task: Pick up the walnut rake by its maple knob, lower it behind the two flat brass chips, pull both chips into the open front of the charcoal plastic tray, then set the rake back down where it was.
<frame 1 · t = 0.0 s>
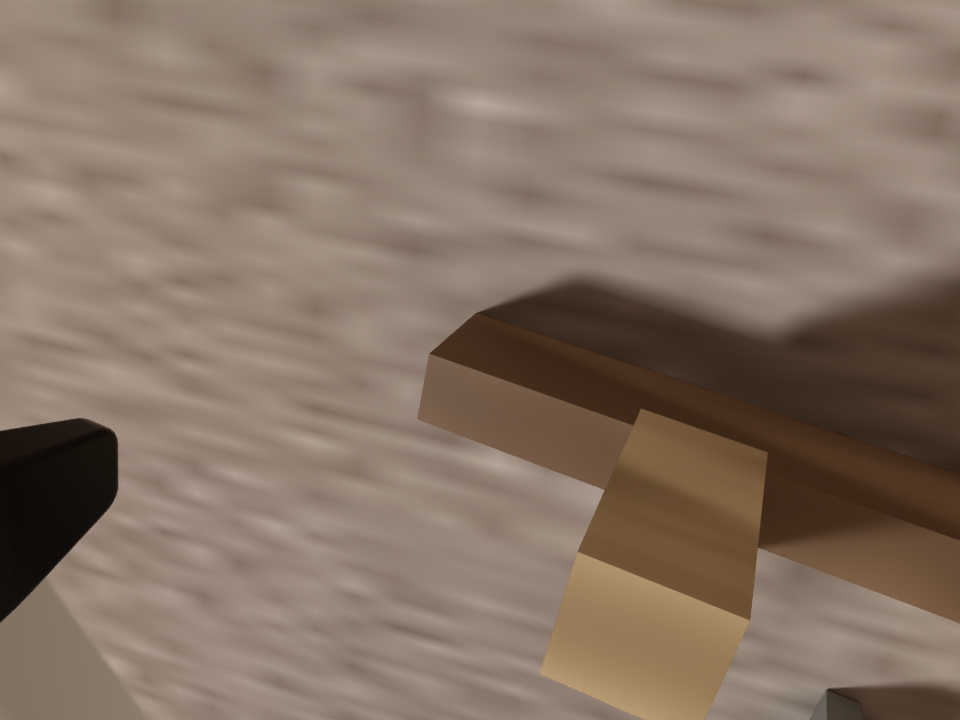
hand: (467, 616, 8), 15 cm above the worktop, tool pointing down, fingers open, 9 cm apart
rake: (701, 420, 22), on the worktop
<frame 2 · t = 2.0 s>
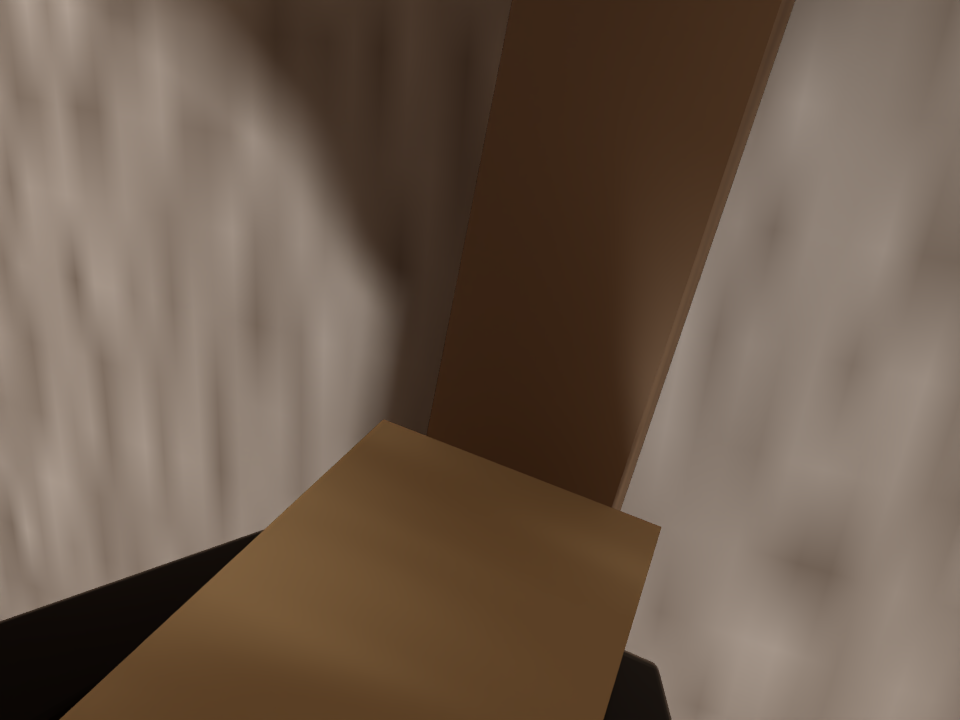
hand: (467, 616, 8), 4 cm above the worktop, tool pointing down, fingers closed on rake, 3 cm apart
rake: (570, 438, 12), on the worktop, touching gripper
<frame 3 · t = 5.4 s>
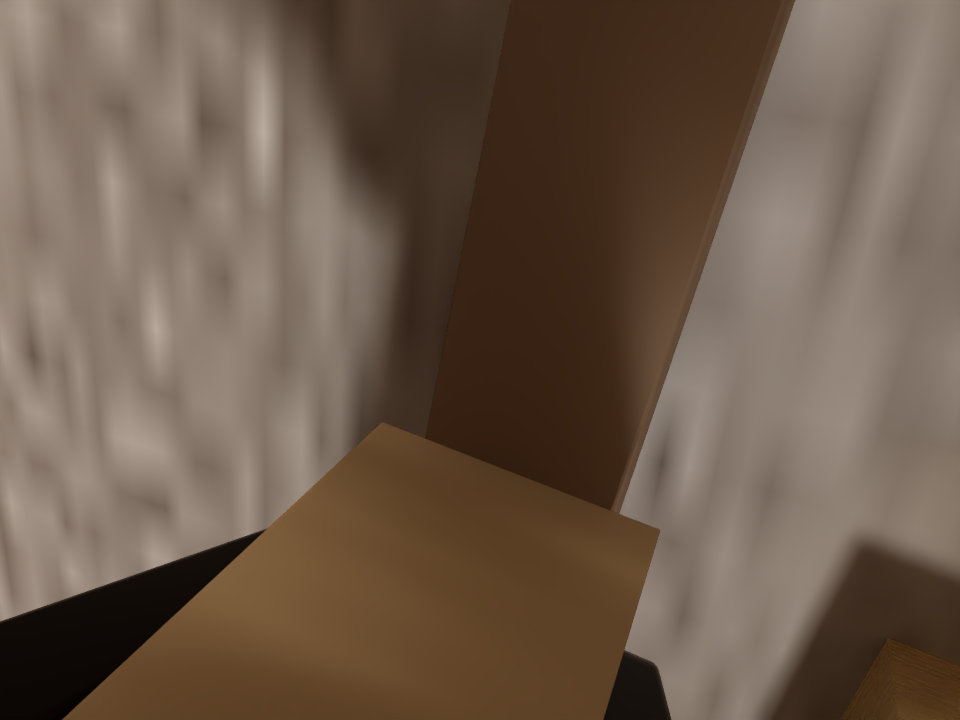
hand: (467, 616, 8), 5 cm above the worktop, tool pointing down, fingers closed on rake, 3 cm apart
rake: (569, 440, 12), point 1 cm above the worktop, touching gripper
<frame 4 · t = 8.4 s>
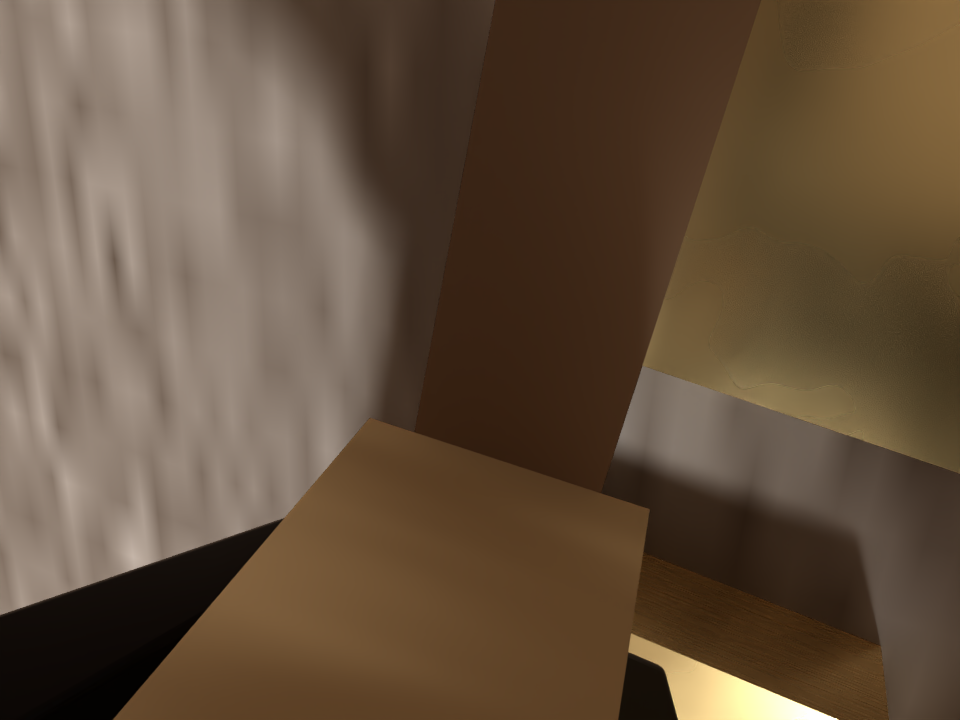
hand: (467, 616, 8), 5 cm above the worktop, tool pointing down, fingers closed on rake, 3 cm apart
chip b: (685, 679, 14), on the worktop
chip a: (898, 201, 10), on the worktop, touching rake
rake: (541, 425, 12), on the worktop, tilted 5°, touching chip a, gripper
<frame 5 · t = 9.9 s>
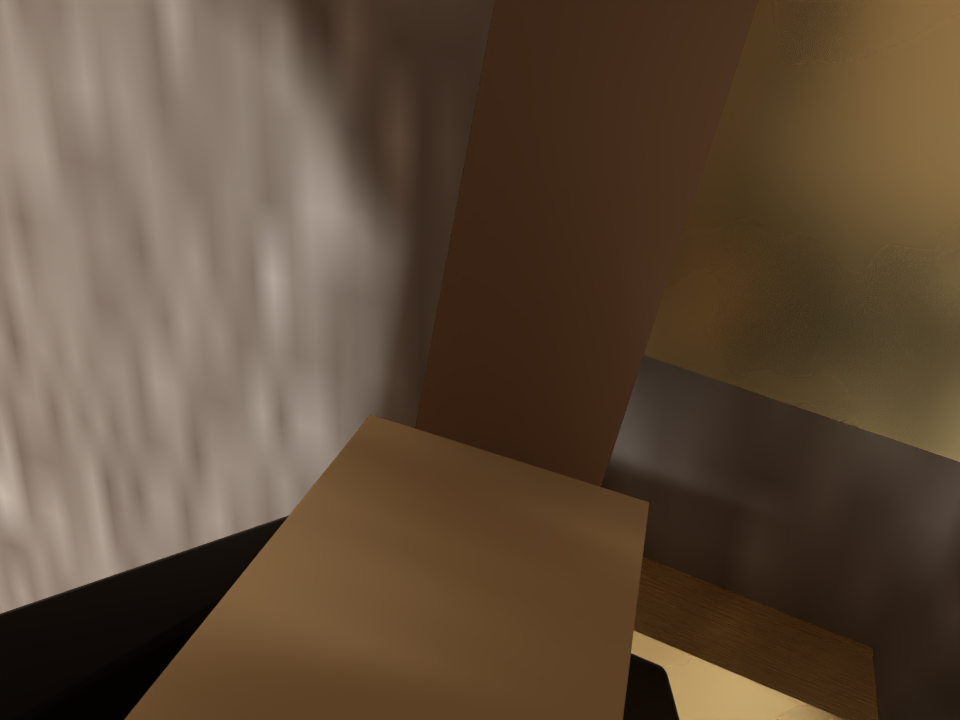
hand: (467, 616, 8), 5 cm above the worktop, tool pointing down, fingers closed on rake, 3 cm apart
chip b: (681, 674, 14), on the worktop, touching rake
chip a: (891, 194, 10), on the worktop, touching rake
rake: (538, 420, 12), on the worktop, tilted 6°, touching chip a, chip b, gripper
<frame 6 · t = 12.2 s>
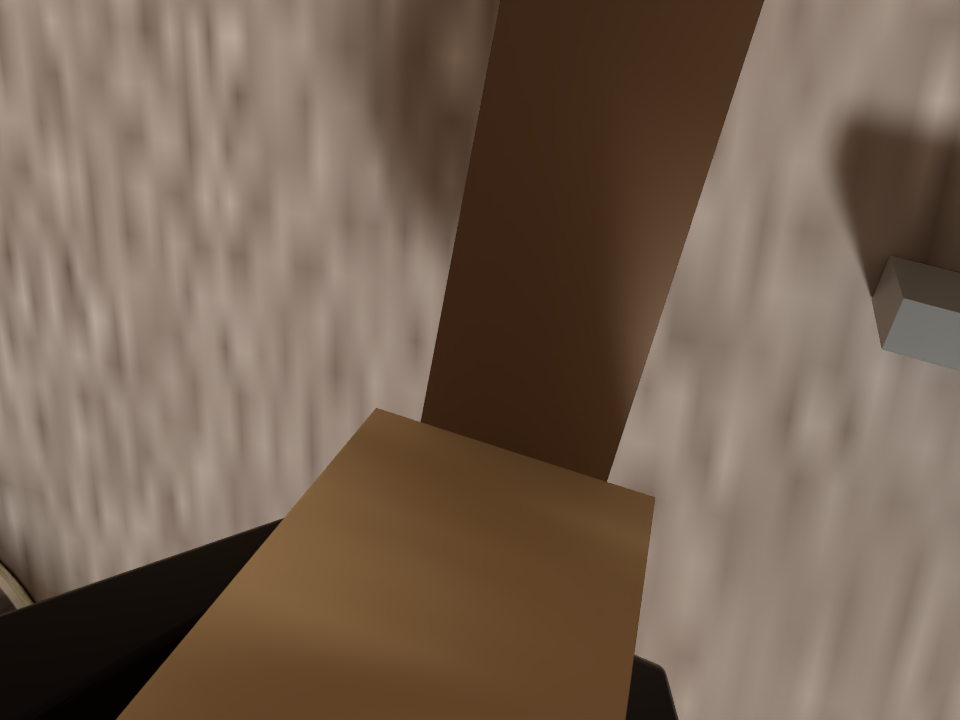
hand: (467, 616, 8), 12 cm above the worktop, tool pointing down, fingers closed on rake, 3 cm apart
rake: (544, 416, 12), point 8 cm above the worktop, tilted 6°, touching gripper
when the fingers open (5 cm above the worktop, at t = 14.1 s): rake stays where it is, on the worktop.
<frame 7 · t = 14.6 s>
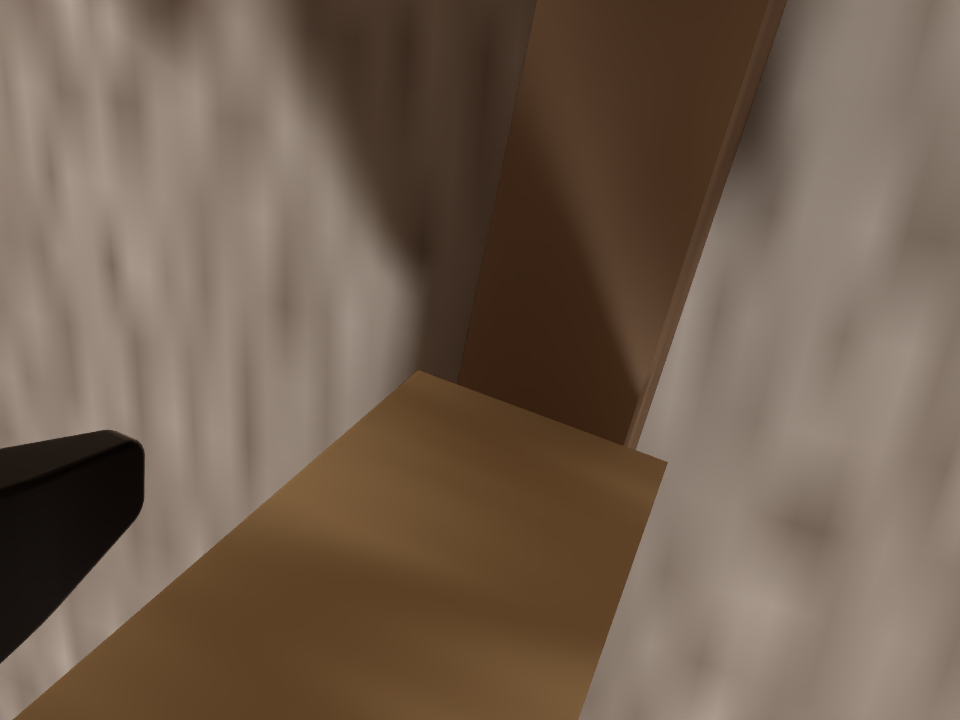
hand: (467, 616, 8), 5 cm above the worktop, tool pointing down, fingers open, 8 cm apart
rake: (583, 401, 13), on the worktop
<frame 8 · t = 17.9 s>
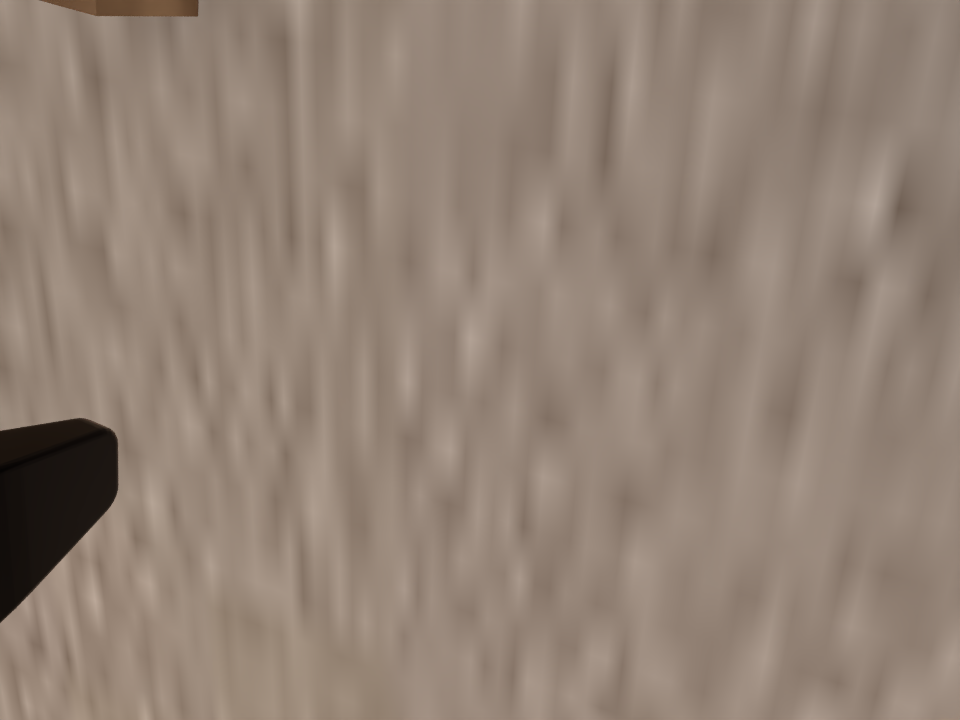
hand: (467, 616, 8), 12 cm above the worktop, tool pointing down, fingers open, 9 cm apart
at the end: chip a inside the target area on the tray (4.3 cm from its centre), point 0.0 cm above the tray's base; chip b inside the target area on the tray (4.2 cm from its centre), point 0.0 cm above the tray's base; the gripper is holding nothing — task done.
